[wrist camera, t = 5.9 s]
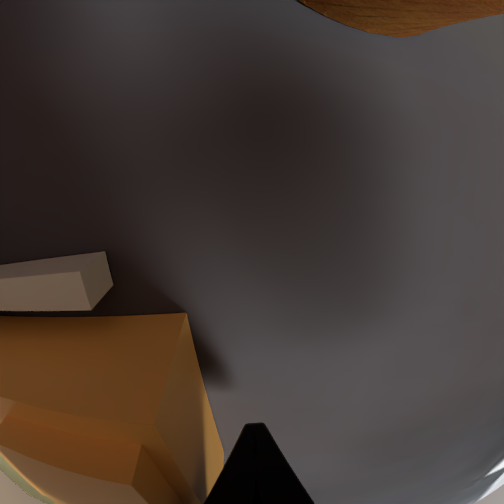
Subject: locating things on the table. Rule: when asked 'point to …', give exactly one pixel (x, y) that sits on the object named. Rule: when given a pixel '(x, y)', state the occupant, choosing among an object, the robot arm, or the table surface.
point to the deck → (52, 301)
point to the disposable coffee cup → (404, 13)
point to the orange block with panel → (107, 409)
